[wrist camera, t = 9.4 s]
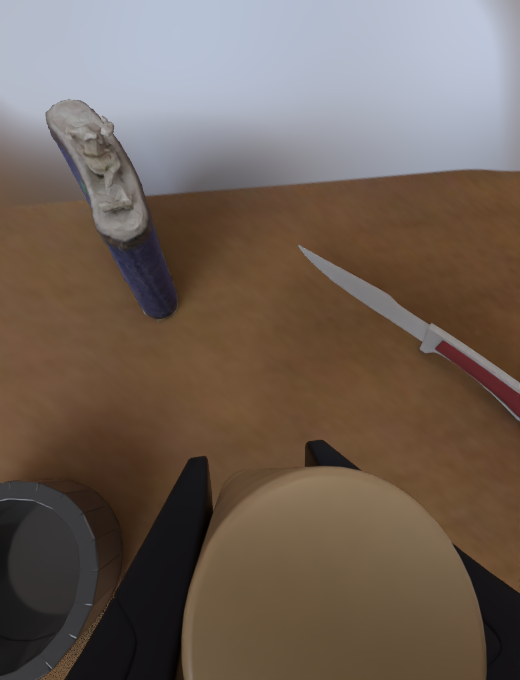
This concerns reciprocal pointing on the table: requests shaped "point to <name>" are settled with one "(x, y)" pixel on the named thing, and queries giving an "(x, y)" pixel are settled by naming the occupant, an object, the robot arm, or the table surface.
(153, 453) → the table surface
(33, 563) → the cup
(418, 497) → the table surface
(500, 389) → the knife
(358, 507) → the muddler
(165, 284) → the flask
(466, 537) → the table surface
